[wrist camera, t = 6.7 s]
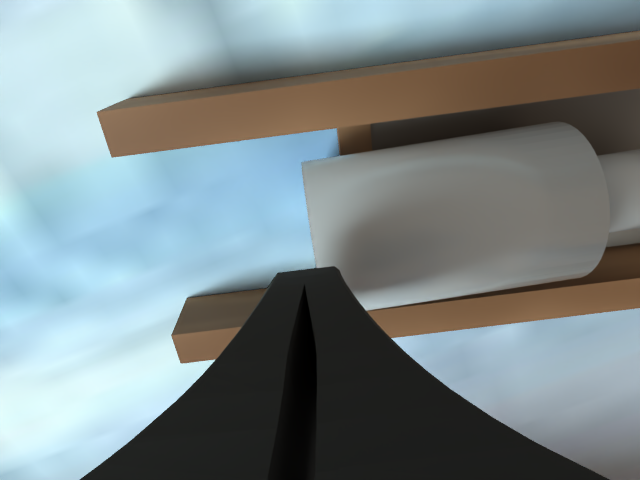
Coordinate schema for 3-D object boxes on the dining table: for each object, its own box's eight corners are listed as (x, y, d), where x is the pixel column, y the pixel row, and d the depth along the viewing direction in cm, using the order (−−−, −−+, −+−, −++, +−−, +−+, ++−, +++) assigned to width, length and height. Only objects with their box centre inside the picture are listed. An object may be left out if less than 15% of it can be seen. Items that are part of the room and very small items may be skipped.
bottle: (321, 270, 16) (623, 223, 15) (330, 350, 12) (738, 287, 11) (300, 146, 14) (642, 92, 14) (302, 189, 10) (786, 112, 10)
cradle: (753, 255, 17) (857, 309, 14) (194, 324, 17) (170, 392, 14) (841, 3, 13) (1012, -3, 10) (126, 98, 13) (73, 122, 10)
